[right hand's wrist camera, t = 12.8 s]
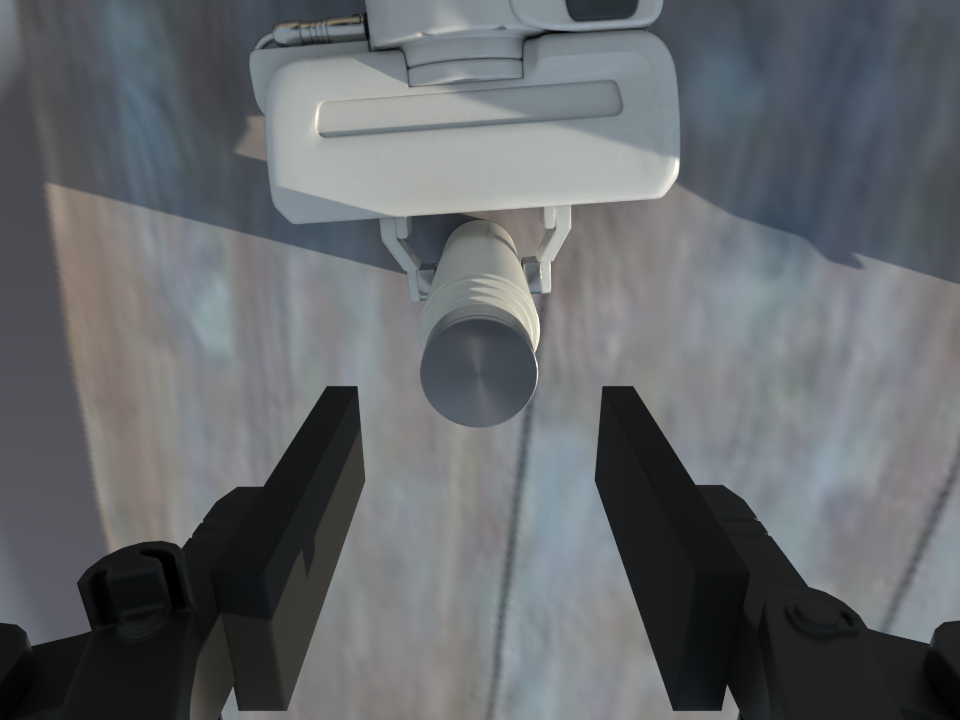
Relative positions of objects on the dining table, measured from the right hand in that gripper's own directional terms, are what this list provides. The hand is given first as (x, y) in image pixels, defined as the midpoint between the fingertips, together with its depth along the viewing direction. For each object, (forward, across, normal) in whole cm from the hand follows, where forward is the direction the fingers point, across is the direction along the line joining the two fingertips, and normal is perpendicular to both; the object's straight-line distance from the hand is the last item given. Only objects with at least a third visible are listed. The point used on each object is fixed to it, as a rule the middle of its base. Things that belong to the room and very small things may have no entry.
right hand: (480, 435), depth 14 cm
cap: (+4, 0, 0) cm, 4 cm away
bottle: (+24, 0, 0) cm, 24 cm away
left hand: (+18, 0, -1) cm, 18 cm away
